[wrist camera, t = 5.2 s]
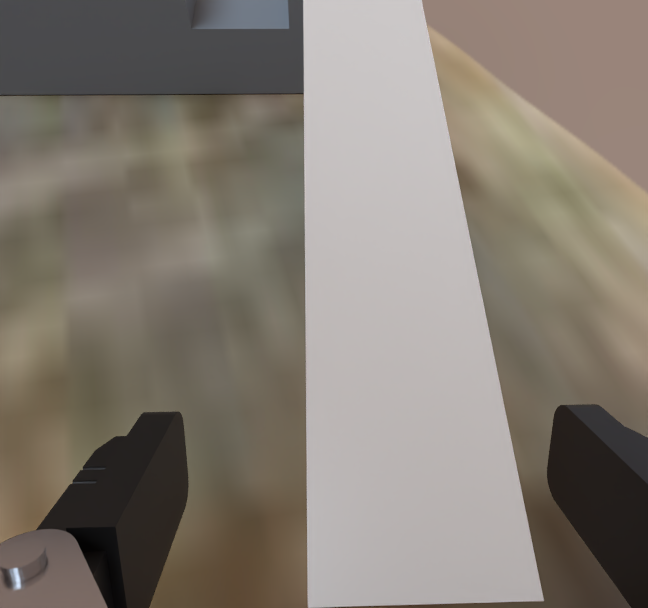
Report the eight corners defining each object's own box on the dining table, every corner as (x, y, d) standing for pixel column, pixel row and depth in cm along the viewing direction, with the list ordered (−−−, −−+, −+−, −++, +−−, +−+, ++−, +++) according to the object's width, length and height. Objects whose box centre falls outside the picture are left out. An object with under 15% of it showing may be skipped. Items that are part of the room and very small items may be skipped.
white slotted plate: (403, 593, 14) (544, 601, 5) (313, 595, 14) (307, 607, 5) (365, 166, 22) (398, -112, 13) (307, 167, 22) (302, -113, 13)
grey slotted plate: (-73, 95, 24) (-207, -76, 18) (-54, 61, 25) (-174, -110, 19) (354, 93, 24) (367, -75, 18) (351, 59, 25) (362, -108, 19)
